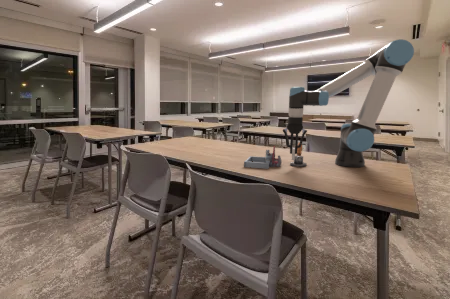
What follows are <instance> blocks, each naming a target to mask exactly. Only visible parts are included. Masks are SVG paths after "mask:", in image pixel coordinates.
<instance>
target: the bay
mask: <svg viewBox="0 0 450 299" xmlns="http://www.w3.org/2000/svg"><path fill="white" fill-rule="evenodd" d="M252 161H253V162H252ZM264 161H266V160H265V156H256V155H255V156H253V155H250V156H248V157H247V159H246V160H244V161H243V168H250V167H251V169H252V168H253V169H255V168H256V169H266V170H267V169H268V170H269V168H270V167H269V163H265V162H264Z"/></svg>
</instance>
